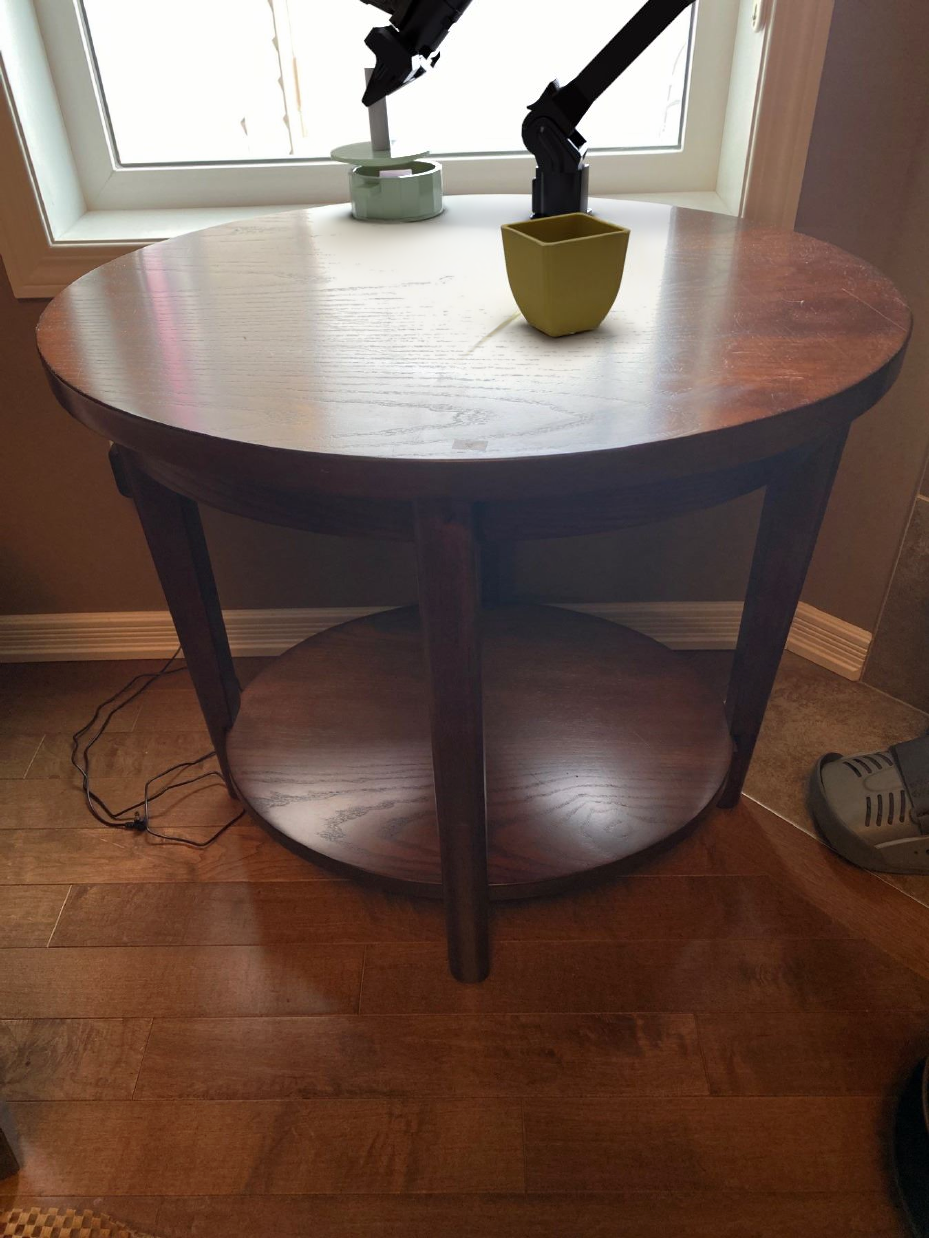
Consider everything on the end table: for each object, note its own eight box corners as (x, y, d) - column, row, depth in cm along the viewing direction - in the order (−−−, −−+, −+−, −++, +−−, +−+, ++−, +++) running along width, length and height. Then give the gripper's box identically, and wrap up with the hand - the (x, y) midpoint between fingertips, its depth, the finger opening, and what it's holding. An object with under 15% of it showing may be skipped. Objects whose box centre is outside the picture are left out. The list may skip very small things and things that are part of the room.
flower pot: (499, 321, 88) (498, 223, 83) (577, 306, 91) (581, 210, 85) (543, 349, 82) (545, 244, 76) (626, 332, 84) (633, 230, 79)
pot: (466, 200, 131) (465, 158, 127) (407, 231, 118) (404, 184, 115) (390, 195, 135) (387, 154, 132) (325, 224, 122) (319, 179, 119)
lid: (440, 164, 116) (434, 68, 110) (333, 172, 115) (322, 75, 108) (426, 146, 127) (421, 58, 121) (329, 154, 126) (318, 64, 119)
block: (413, 203, 128) (411, 169, 125) (414, 210, 125) (412, 175, 122) (382, 205, 128) (379, 171, 125) (382, 212, 124) (379, 177, 122)
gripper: (415, -62, 113) (342, 45, 122) (372, -61, 99) (293, 60, 108) (479, 11, 117) (404, 110, 125) (447, 22, 102) (364, 134, 111)
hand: (367, 103), depth 117 cm, fingers closed on lid, 2 cm apart
